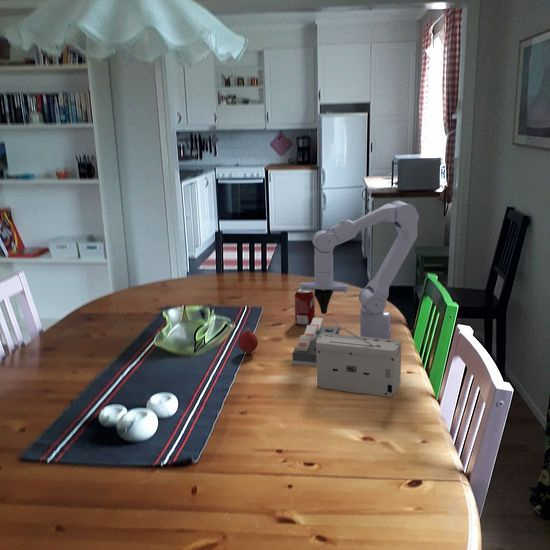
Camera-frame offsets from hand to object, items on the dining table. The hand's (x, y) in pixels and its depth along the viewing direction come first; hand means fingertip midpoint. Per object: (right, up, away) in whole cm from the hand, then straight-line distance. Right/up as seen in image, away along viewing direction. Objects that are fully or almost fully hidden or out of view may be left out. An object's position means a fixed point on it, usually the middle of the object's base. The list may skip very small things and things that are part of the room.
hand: (324, 312), depth 173 cm
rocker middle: (-4, -6, -3) cm, 8 cm away
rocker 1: (-7, -8, -11) cm, 15 cm away
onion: (-23, -12, -6) cm, 27 cm away
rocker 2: (-2, -4, +4) cm, 6 cm away
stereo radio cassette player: (+6, -18, -30) cm, 35 cm away
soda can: (-5, -5, +19) cm, 20 cm away
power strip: (-2, -11, -3) cm, 11 cm away
